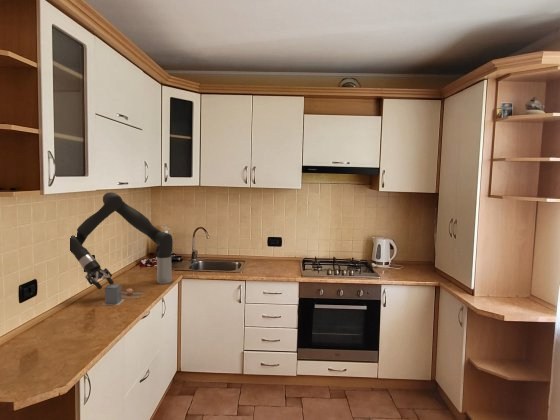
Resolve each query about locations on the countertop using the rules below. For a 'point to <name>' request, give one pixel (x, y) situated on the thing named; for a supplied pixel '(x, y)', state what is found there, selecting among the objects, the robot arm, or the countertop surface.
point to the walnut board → (135, 295)
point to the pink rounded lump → (129, 292)
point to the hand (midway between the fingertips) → (106, 286)
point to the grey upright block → (112, 294)
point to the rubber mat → (115, 304)
